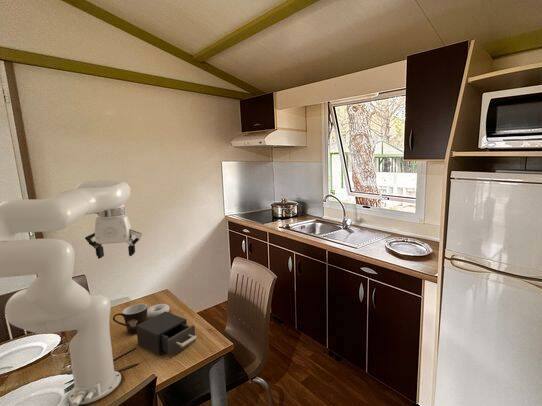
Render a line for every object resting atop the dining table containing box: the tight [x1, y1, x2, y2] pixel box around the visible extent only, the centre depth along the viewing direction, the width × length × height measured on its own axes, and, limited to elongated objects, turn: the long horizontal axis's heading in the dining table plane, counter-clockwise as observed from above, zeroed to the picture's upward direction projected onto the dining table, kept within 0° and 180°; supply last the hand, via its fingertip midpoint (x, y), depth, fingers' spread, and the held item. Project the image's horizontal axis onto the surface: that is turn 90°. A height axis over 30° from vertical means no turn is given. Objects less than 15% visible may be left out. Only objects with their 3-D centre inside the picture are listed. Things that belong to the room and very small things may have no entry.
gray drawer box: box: [136, 311, 188, 356], centre depth 111 cm, size 14×12×9 cm
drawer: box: [160, 323, 198, 358], centre depth 108 cm, size 17×10×7 cm, turn 65°
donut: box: [147, 303, 170, 320], centre depth 131 cm, size 10×4×10 cm
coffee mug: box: [112, 303, 148, 336], centre depth 118 cm, size 12×9×10 cm
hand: (116, 256), depth 105 cm, fingers open, 9 cm apart
